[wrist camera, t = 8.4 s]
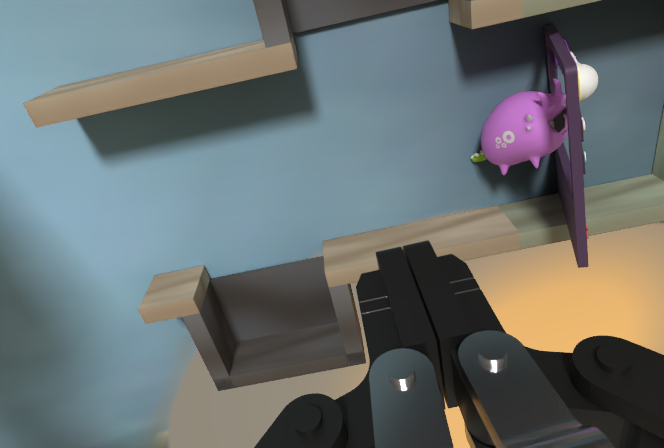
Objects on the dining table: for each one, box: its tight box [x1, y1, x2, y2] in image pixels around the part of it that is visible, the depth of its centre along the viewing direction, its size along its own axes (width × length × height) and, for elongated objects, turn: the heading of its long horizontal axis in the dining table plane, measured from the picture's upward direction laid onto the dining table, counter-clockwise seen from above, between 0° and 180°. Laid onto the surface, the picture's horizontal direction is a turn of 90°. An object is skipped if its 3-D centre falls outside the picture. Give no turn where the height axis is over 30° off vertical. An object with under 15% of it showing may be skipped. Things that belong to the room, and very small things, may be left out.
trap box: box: [23, 0, 664, 391], centre depth 21 cm, size 24×30×3 cm
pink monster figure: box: [470, 24, 598, 267], centre depth 20 cm, size 7×5×9 cm
